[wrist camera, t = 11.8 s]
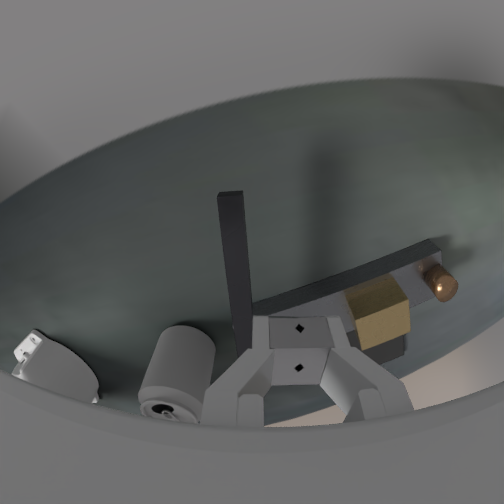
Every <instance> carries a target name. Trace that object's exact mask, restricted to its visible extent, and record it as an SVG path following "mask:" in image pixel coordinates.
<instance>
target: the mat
mask: <svg viewBox="0 0 504 504" xmlns="http://www.w3.org/2000/svg"><path fill="white" fill-rule="evenodd" d="M346 335H347V337H348V340H349V343H350V346H351V347H356V348H357V349H358V350H360V351H361V352H362V353H364V354H365V355H366V356H368V357H369V358H370V359H372V360H373V361H374V362H376V363H377V364H378V365H380V364H382V363H385V362H387V361H390V360H392V359H395V358H397V357H400V356H402V355H404V343H403V335H401V336H399V337H396V338H394V339H391V340H389V341H386V342H384V343H381V344H379V345H376V346H373V347H371V348H368V349H365V350H363V351H362V349H361V346H360V344H359V341H358V338H357V335H356V333H355V330H353V331H350V332H347V333H346Z"/></svg>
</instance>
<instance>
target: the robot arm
mask: <svg viewBox="0 0 504 504" xmlns="http://www.w3.org/2000/svg"><path fill="white" fill-rule="evenodd" d="M14 354H15V356H16V358H17V359H18V361H19V362H18V364H17V365H16V367H15V369H14V370H13V372H12V375H11V374H9V373H7V372H4V371H2V370H0V504H504V381H503V382H501V383H499V384H496V385H494V386H491V387H489V388H486V389H483V390H481V391H478V392H475V393H473V394H470V395H467V396H464V397H461V398H458V399H455V400H451V401H448V402H445V403H442V404H438V405H434V406H431V407H427V408H423V409H419V410H415V411H414V408H413V406H412V403H411V400H410V398H409V396H408V393H407V390H406V388H405V386H404V383H403V382H401V381H400V380H399V379H397V378H396V377H395V376H393V375H392V374H391V373H389V372H388V371H387V370H385V369H384V368H383V367H381V366H380V365H378V364H377V363H376V362H374V361H373V360H372V359H370V358H369V357H368V356H366V355H365V354H364V353H362V352H361V351H360V350H358V349H357V348H356V347H351V346H350V343H349V340H348V337H347V335H346V332H345V329H344V326H343V323H342V321H341V318H340V316H338V315H337V316H319V317H291V316H256V315H253V331H252V349H247V350H246V351H245V352H244V353H243V354H242V355H241V356H240V357H239V358H238V359H237V360H236V361H235V362H234V363H233V364H232V365H231V366H230V367H229V368H228V369H227V370H226V371H225V372H224V373H223V374H222V375H221V376H220V377H219V378H218V379H217V380H216V381H215V382H214V383H213V384H212V385H211V386H210V387H209V388H208V389H207V390H206V391H205V396H204V402H203V408H202V414H201V420H200V424H195V423H187V422H179V421H172V420H165V419H159V418H153V417H147V416H142V415H137V414H132V413H127V412H123V411H118V410H114V409H110V408H106V407H102V406H98V405H94V404H91V403H97V402H98V400H99V396H98V394H97V390H98V388H99V383H98V380H97V378H96V376H95V374H94V373H93V371H92V370H91V369H90V368H89V366H88V365H87V364H86V363H85V362H84V361H83V360H82V359H81V358H80V357H78V356H77V355H76V354H75V353H73V352H72V351H71V350H69V349H68V348H66V347H64V346H63V345H61V344H59V343H57V342H55V341H52V340H50V339H48V338H46V337H45V336H44V335H42V334H41V333H40V332H38V331H37V330H32V331H31V332H30V333H29V334H28V336H27V337H26V338H25V339H24V340H23V341H22V342H21V343H20V344H19V345H18V346H17V347H16V349H15V350H14ZM310 384H320V386H321V387H322V389H323V390H324V391H325V392H326V393H327V394H328V395H329V396H330V398H331V399H332V400H333V401H334V402H335V403H336V404H337V405H338V407H339V408H340V409H341V410H342V411H343V412H344V413H345V414H346V415H347V416H346V418H345V420H344V422H343V423H339V424H329V425H318V426H301V427H264V407H263V398H264V396H265V395H266V393H267V392H268V390H269V389H270V387H271V386H272V385H310Z"/></svg>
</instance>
